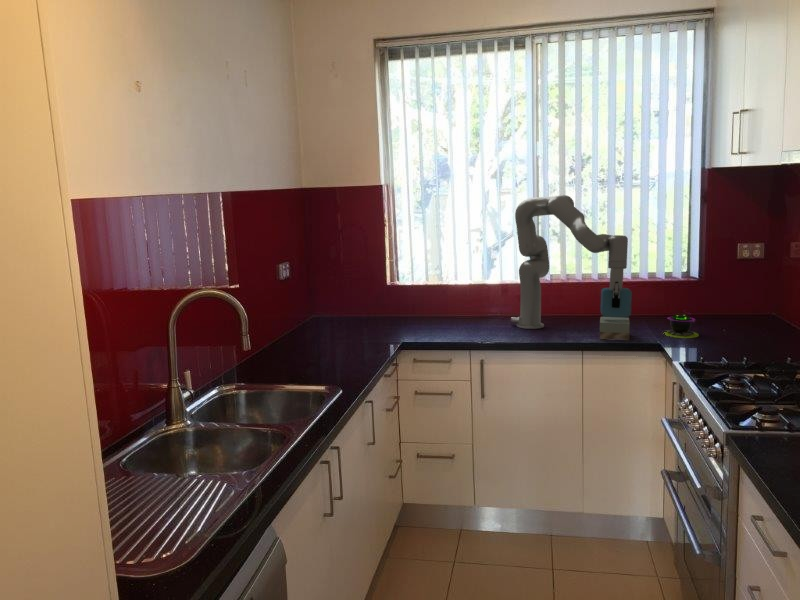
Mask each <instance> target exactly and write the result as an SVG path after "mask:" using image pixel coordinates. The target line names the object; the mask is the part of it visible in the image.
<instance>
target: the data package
mask: <svg viewBox="0 0 800 600" xmlns="http://www.w3.org/2000/svg"><path fill="white" fill-rule="evenodd" d="M614 291H615V290H614ZM618 291H619V290H618ZM632 295H633V292H632V290H630V288H628V287H622V290H621V292H620V308H612V298H613V291H612V290H611V291H610V287H603V288H602V289H601V290H600V314H601V315H602V317H620V318H629V317H630V316H631V315H632V299H633V297H632Z"/></svg>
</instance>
